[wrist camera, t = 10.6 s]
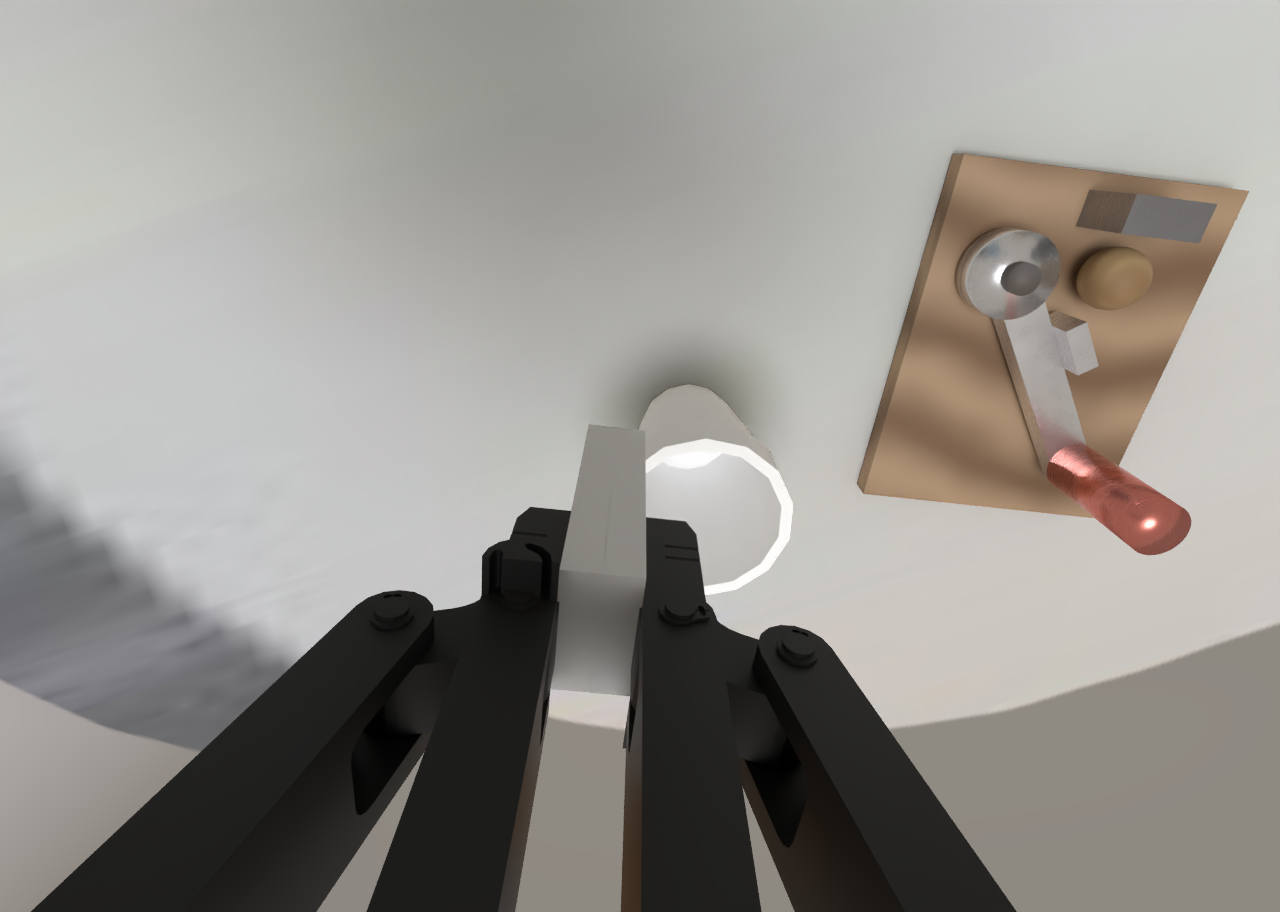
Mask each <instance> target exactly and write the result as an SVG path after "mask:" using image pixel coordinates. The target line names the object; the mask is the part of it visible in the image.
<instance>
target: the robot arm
mask: <svg viewBox="0 0 1280 912" xmlns="http://www.w3.org/2000/svg"><path fill="white" fill-rule="evenodd" d="M550 688H551V689H557V690H568V691H579V692H590V693H601V694H612V695H623V696H629V695H630V702H629V709H628V716H627V722H626V729H625V736H624V743H623V748H626V769H625V800H624V801H625V802H624V832H623V861H622V893H621V912H761V906H760V900H759V893H758V886H757V880H756V873H755V867H754V860H753V854H752V847H751V841H750V834H749V828H748V821H747V815H746V808H745V802H744V795H743V789H744V791H745V793H746V796H747V798H748V801H749V803H750V805H751V808H752V810H753V813H754V815H755V817H756V820H757V822H758V825H759V827H760V829H761V832H762V834H763V836H764V839H765V841H766V844H767V846H768V848H769V851H770V853H771V856H772V858H773V860H774V863H775V865H776V868H777V870H778V872H779V875H780V877H781V880H782V882H783V884H784V887H785V889H786V892H787V894H788V897H789V899H790V901H791V904H792V906H793V908H794V911H795V912H1016V910H1015V909H1014V907H1013V906H1012V905H1011V903H1010V902H1009V900H1008V899H1007V897H1006V896H1005V894H1004V893H1003V892H1002V890H1001V889H1000V887H999V886H998V885H997V883H996V882H995V881H994V879H993V878H992V876H991V875H990V873H989V872H988V870H987V869H986V867H985V866H984V865H983V863H982V862H981V860H980V859H979V857H978V856H977V855H976V853H975V852H974V850H973V849H972V848H971V846H970V845H969V843H968V842H967V840H966V839H965V838H964V836H963V835H962V833H961V832H960V830H959V829H958V828H957V827H956V825H955V823H954V822H953V820H952V819H951V818H950V816H949V815H948V813H947V812H946V810H945V809H944V808H943V806H942V805H941V804H940V802H939V801H938V799H937V798H936V796H935V795H934V793H933V792H932V790H931V789H930V788H929V786H928V785H927V783H926V782H925V781H924V779H923V778H922V776H921V775H920V773H919V772H918V771H917V769H916V768H915V766H914V765H913V763H912V762H911V761H910V759H909V758H908V756H907V755H906V753H905V752H904V751H903V749H902V748H901V746H900V745H899V743H898V742H897V741H896V739H895V738H894V736H893V735H892V733H891V732H890V731H889V729H888V728H887V726H886V725H885V724H884V722H883V721H882V719H881V718H880V716H879V715H878V714H877V712H876V711H875V709H874V708H873V706H872V705H871V704H870V702H869V701H868V699H867V698H866V696H865V695H864V694H863V692H862V691H861V689H860V688H859V686H858V685H857V684H856V682H855V681H854V679H853V678H852V677H851V675H850V674H849V672H848V671H847V669H846V668H845V667H844V665H843V664H842V662H841V661H840V659H839V658H838V657H837V655H836V654H835V652H834V651H833V649H832V648H831V647H830V646H829V645H828V644H827V643H826V642H825V641H824V640H823V639H822V638H821V637H819V636H817V635H816V634H814V633H812V632H810V631H809V630H805V629H802V628H799V627H796V626H786V625H779V626H775V627H770V628H768V629H767V630H765V631H764V632H763V633H762V634H761V635H760V638H759V640H758V639H755V638H752V637H749V636H745V635H742V634H740V633H737V632H735V631H732V630H730V629H728V628H727V627H725V626H723V625H722V624H720V623H719V622H718V621H717V619H716V616H715V613H714V611H713V609H712V607H711V606H710V605H708V604H707V603H706V599H705V592H704V584H703V577H702V570H701V563H700V556H699V551H698V542H697V535H696V533H695V532H694V531H693V530H692V528H691V527H690V526H689V525H688V523H687V522H686V521H678V520H668V519H659V518H649V517H646V455H645V431H643V430H634V429H625V428H616V427H606V426H597V425H589V427H588V431H587V436H586V441H585V446H584V451H583V456H582V461H581V466H580V471H579V476H578V481H577V486H576V491H575V496H574V500H573V505H572V510H571V511H565V510H555V509H545V508H535V507H530V508H529V509H527V510H526V511H525V512H524V513H523V514H521V515H520V516H519V517H518V518H517V520H516V523H515V526H514V528H513V532H512V534H511V537H510V540H506V541H502V542H499V543H497V544H495V545H493V546H491V547H489V548H488V549H487V551H486V552H485V553H484V554H483V556H482V596H481V598H480V600H478V601H476V602H475V603H472V604H469V605H466V606H463V607H458V608H453V609H445V610H437V611H433V605H432V604H431V602H430V601H429V600H428V599H427V598H426V597H424V596H422V595H420V594H417V593H415V592H409V591H401V590H398V591H389V592H383V593H380V594H377V595H374V596H371V597H368V598H367V599H365V600H364V601H363V602H361V603H360V604H358V605H357V606H356V607H355V608H353V609H352V610H351V611H350V612H349V613H348V614H347V615H346V616H345V617H344V618H343V619H342V620H341V621H340V622H339V623H337V624H336V625H335V626H334V627H333V628H332V629H331V630H330V631H329V632H328V633H327V634H326V635H325V636H324V637H323V638H322V639H320V640H319V641H318V642H317V643H316V644H315V645H314V646H313V647H312V648H311V649H310V650H309V651H308V652H307V653H306V654H305V655H303V656H302V657H301V658H300V659H299V660H298V661H297V662H296V663H295V664H294V665H293V666H292V667H291V668H290V669H289V670H287V671H286V672H285V673H284V674H283V675H282V676H281V677H280V678H279V679H278V680H277V681H276V682H275V683H274V684H273V685H272V686H270V687H269V688H268V689H267V690H266V691H265V692H264V693H263V694H262V695H261V696H260V697H259V698H258V699H257V700H256V701H255V702H253V703H252V704H251V705H250V706H249V707H248V708H247V709H246V710H245V711H244V712H243V713H242V714H241V715H240V716H239V717H237V718H236V719H235V720H234V721H233V722H232V723H231V724H230V725H229V726H228V727H227V728H226V729H225V730H224V731H223V732H222V733H220V734H219V735H218V736H217V737H216V738H215V739H214V740H213V741H212V742H211V743H210V744H209V745H208V746H207V747H206V748H205V749H203V750H202V751H201V752H200V753H199V754H198V755H197V756H196V757H195V758H194V759H193V760H192V761H191V762H190V763H189V764H188V765H186V766H185V767H184V768H183V769H182V770H181V771H180V772H179V773H178V774H177V775H176V776H175V777H174V778H173V779H172V780H170V781H169V782H168V783H167V784H166V785H165V786H164V787H163V788H162V789H161V790H160V791H159V792H158V793H157V794H156V795H155V796H153V797H152V798H151V799H150V800H149V801H148V802H147V803H146V804H145V805H144V806H143V807H142V808H141V809H140V810H139V811H137V812H136V814H134V815H133V816H132V817H131V818H130V819H129V820H128V821H127V822H126V823H125V824H124V825H123V826H122V827H120V828H119V829H118V830H117V831H116V832H115V833H114V834H113V835H112V836H111V837H110V838H109V839H108V840H107V841H106V842H105V843H103V844H102V845H101V846H100V847H99V848H98V849H97V850H96V851H95V852H94V853H93V854H92V855H91V856H90V857H89V858H87V859H86V860H85V862H83V863H82V864H81V865H80V866H79V867H78V868H77V869H76V870H75V871H74V872H73V873H72V874H70V875H69V876H68V877H67V878H66V879H65V880H64V881H63V882H62V883H61V884H60V885H59V886H58V887H57V888H56V889H55V890H54V891H52V892H51V893H50V894H49V895H48V896H47V897H46V898H45V899H44V900H43V901H42V902H41V903H40V904H39V905H37V906H36V907H35V908H34V909H33V910H32V911H31V912H316V911H317V910H318V908H319V907H320V905H321V904H322V902H323V901H324V900H325V898H326V897H327V895H328V893H329V892H330V891H331V889H332V888H333V886H334V885H335V883H336V882H337V880H338V879H339V877H340V876H341V874H342V873H343V871H344V870H345V868H346V867H347V865H348V864H349V862H350V861H351V860H352V858H353V857H354V855H355V854H356V852H357V851H358V849H359V848H360V846H361V845H362V843H363V842H364V840H365V839H366V837H367V836H368V834H369V833H370V831H371V830H372V828H373V827H374V825H375V824H376V823H377V821H378V819H379V818H380V816H381V815H382V814H383V812H384V811H385V809H386V808H387V806H388V805H389V803H390V802H391V800H392V799H393V797H394V796H395V794H396V793H397V791H398V790H399V788H400V787H401V786H402V784H403V783H404V781H405V780H406V778H407V777H408V775H409V774H410V772H411V771H412V769H413V768H414V766H415V765H416V763H417V762H418V760H419V759H420V757H421V756H422V754H423V753H424V755H423V758H422V761H421V764H420V766H419V769H418V772H417V775H416V777H415V780H414V783H413V786H412V789H411V791H410V794H409V797H408V799H407V802H406V805H405V808H404V810H403V813H402V816H401V819H400V821H399V824H398V827H397V830H396V832H395V836H394V838H393V841H392V843H391V846H390V849H389V852H388V854H387V857H386V860H385V863H384V865H383V868H382V871H381V874H380V876H379V879H378V882H377V885H376V887H375V890H374V893H373V896H372V898H371V901H370V904H369V907H368V909H367V912H515V909H516V903H517V897H518V891H519V885H520V878H521V873H522V867H523V861H524V855H525V849H526V843H527V837H528V831H529V825H530V819H531V813H532V807H533V801H534V795H535V789H536V783H537V777H538V771H539V765H540V759H541V753H542V747H543V740H544V735H545V728H546V723H547V717H548V711H549V698H550ZM424 751H425V752H424ZM742 786H743V789H742Z"/></svg>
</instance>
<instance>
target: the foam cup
mask: <svg viewBox="0 0 1280 912" xmlns="http://www.w3.org/2000/svg"><path fill="white" fill-rule="evenodd" d="M638 430H643V431H645V455H646V517H649V518H659V519H668V520H678V521H686V522H687V523H688V525H689V526H690V527H691V528H692V530H693V531H694V532H695V533H696V535H697V542H698V551H699V556H700V563H701V570H702V577H703V584H704V592H705V595H710V594H715V593H720V592H726V591H731V590H737V589H738V588H740V587H742V586H743V585H745V584H747V583H748V582H750V581H751V580H753V579H755V578H756V577H758V576H759V575H761V574H763V573H764V572H766V571H767V570H769V569H770V567H771V566H772V564H773V563H774V561H775V560H776V558H777V557H778V555H779V554H780V553H781V551H782V550H783V548H784V547H785V545H786V544H787V542H788V541H789V538H790V529H791V520H792V511H793V503H792V500H791V498H790V496H789V493H788V491H787V489H786V486H785V484H784V482H783V479H782V477H781V475H780V473H779V470H778V468H777V466H776V464H775V461H774V459H773V457H772V454H771V452H770V451H769V450H767V449H766V448H765V447H764V446H762V445H761V444H760V443H758V442H757V441H756V439H755V438H754V437H753V436H752V434H751V433H750V432H749V431H748V429H747V428H746V427H745V426H744V424H743V423H742V422H741V421H740V420H739V418H738V417H737V416H736V415H735V413H734V412H733V411H732V410H731V408H730V407H729V406H728V405H727V403H726V402H724V400H723V399H721V398H720V397H719V396H717V395H716V394H715V393H714V392H712V391H711V390H710V389H708V388H704V387H700V386H695V385H690V384H686V385H682V386H677V387H672V388H668V389H667V390H665V391H664V392H663V393H661V394H660V395H659V396H657V397H656V398H655V399H653V400H652V401H651V403H650V405H649V407H648V409H647V411H646V413H645V415H644V417H643V419H642V421H641V424H640V427H639V429H638Z"/></svg>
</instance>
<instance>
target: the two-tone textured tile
mask: <svg viewBox="0 0 1280 912" xmlns="http://www.w3.org/2000/svg"><path fill="white" fill-rule="evenodd" d="M1216 206H1217V204H1213V203H1206V202H1198V201H1190V200H1182V199H1174V198H1167V197H1159V196H1151V195H1143V194H1134V193H1121V192H1108V191H1095V190H1089V192H1088V195H1087V197H1086V200H1085V203H1084V205H1083V208H1082V211H1081V213H1080V216H1079V219H1078V221H1077V224H1076V226H1077V227H1083V228H1089V229H1095V230H1101V231H1107V232H1114V233H1120V234H1127V235H1135V236H1143V237H1151V238H1159V239H1167V240H1175V241H1183V242H1191V243H1200V241H1201V239H1202V237H1203V235H1204V232H1205V230H1206V228H1207V226H1208V224H1209V222H1210V219H1211V217H1212V215H1213V213H1214V211H1215V209H1216Z"/></svg>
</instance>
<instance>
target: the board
mask: <svg viewBox="0 0 1280 912" xmlns="http://www.w3.org/2000/svg"><path fill="white" fill-rule="evenodd" d="M1089 190H1095V191H1108V192H1121V193H1134V194H1143V195H1151V196H1159V197H1167V198H1174V199H1182V200H1190V201H1198V202H1206V203H1213V204H1217V206H1216V209H1215V211H1214V213H1213V215H1212V217H1211V219H1210V222H1209V224H1208V226H1207V228H1206V230H1205V232H1204V235H1203V237H1202V239H1201V241H1200V243H1191V242H1183V241H1175V240H1167V239H1159V238H1151V237H1143V236H1135V235H1127V234H1120V233H1114V232H1107V231H1101V230H1095V229H1089V228H1083V227H1077V226H1076V224H1077V221H1078V219H1079V216H1080V213H1081V211H1082V208H1083V205H1084V203H1085V200H1086V197H1087V195H1088V192H1089ZM1248 193H1249V191H1244V190H1236V189H1229V188H1221V187H1213V186H1206V185H1198V184H1190V183H1182V182H1175V181H1167V180H1159V179H1152V178H1144V177H1136V176H1129V175H1121V174H1113V173H1106V172H1098V171H1090V170H1083V169H1075V168H1067V167H1059V166H1052V165H1044V164H1036V163H1029V162H1021V161H1013V160H1006V159H998V158H990V157H983V156H975V155H967V154H953V155H952V158H951V162H950V165H949V168H948V172H947V175H946V179H945V182H944V186H943V189H942V193H941V196H940V199H939V203H938V206H937V210H936V213H935V217H934V220H933V224H932V227H931V231H930V234H929V237H928V241H927V244H926V248H925V251H924V255H923V258H922V262H921V265H920V268H919V272H918V275H917V279H916V282H915V286H914V289H913V293H912V296H911V300H910V303H909V306H908V310H907V313H906V317H905V320H904V324H903V327H902V331H901V334H900V337H899V341H898V344H897V348H896V351H895V355H894V358H893V362H892V365H891V368H890V372H889V375H888V379H887V382H886V386H885V389H884V393H883V396H882V400H881V403H880V406H879V410H878V413H877V417H876V420H875V424H874V427H873V431H872V434H871V437H870V441H869V444H868V448H867V451H866V455H865V458H864V462H863V465H862V469H861V472H860V475H859V479H858V482H857V485H858V486H859V488H860V489H861V491H862V492H863V494H871V495H880V496H890V497H899V498H909V499H918V500H928V501H937V502H947V503H956V504H966V505H975V506H985V507H994V508H1004V509H1013V510H1023V511H1032V512H1042V513H1051V514H1061V515H1070V516H1079V517H1089V518H1094V517H1093V516H1092V515H1090V514H1089V513H1088V512H1087V511H1085V510H1084V509H1083V508H1082V507H1080V506H1079V505H1078V504H1077V503H1075V502H1074V501H1073V500H1072V499H1070V498H1069V497H1068V496H1067V495H1065V494H1064V493H1063V492H1062V491H1060V490H1059V489H1058V488H1057V487H1055V486H1054V485H1053V484H1052V483H1051V482H1050V481H1049V480H1048V478H1046V477H1045V476H1044V475H1043V472H1042V469H1041V466H1040V463H1039V460H1038V457H1037V454H1036V450H1035V447H1034V444H1033V441H1032V438H1031V435H1030V432H1029V429H1028V426H1027V423H1026V420H1025V417H1024V414H1023V411H1022V408H1021V405H1020V401H1019V398H1018V395H1017V392H1016V389H1015V386H1014V383H1013V380H1012V377H1011V374H1010V371H1009V368H1008V365H1007V362H1006V359H1005V356H1004V353H1003V349H1002V346H1001V343H1000V340H999V337H998V334H997V331H996V328H995V325H994V322H993V319H992V317H989V316H987V315H985V314H983V313H981V312H978V311H976V310H974V309H972V308H971V307H969V306H968V305H967V304H965V302H964V301H963V300H962V299H961V297H960V295H959V293H958V290H957V285H956V274H957V269H958V265H959V263H960V260H961V258H962V257H963V255H964V253H965V252H966V250H967V249H968V248H969V247H970V245H971V244H972V243H973V242H975V241H976V240H977V239H978V238H980V237H981V236H983V235H984V234H986V233H988V232H990V231H993V230H996V229H1000V228H1017V229H1022V230H1027V231H1032V232H1036V233H1040V234H1042V235H1044V236H1046V237H1047V238H1049V239H1050V240H1051V241H1052V242H1053V243H1054V245H1055V246H1056V248H1057V250H1058V253H1059V256H1060V262H1061V268H1060V275H1059V279H1058V282H1057V284H1056V286H1055V288H1054V290H1053V292H1052V293H1051V295H1050V296H1049V297H1048V299H1047V300H1046V301H1045V304H1046V307H1047V311H1048V314H1051V313H1053V312H1055V311H1059V312H1062V313H1064V314H1067V315H1070V316H1072V317H1075V318H1078V319H1080V320H1083V321H1086V322H1087V324H1088V328H1089V331H1090V335H1091V339H1092V343H1093V346H1094V350H1095V354H1096V358H1097V361H1098V365H1099V366H1098V367H1096V368H1093V369H1091V370H1089V371H1087V372H1085V373H1082V374H1080V375H1076V374H1074V373H1072V372H1070V371H1068V370H1066V369H1065V373H1066V376H1067V380H1068V383H1069V387H1070V390H1071V394H1072V397H1073V401H1074V404H1075V407H1076V411H1077V414H1078V418H1079V421H1080V425H1081V428H1082V432H1083V435H1084V439H1085V442H1086V445H1087V446H1088V447H1090V448H1092V449H1093V450H1095V451H1096V452H1098V453H1099V454H1101V455H1103V456H1104V457H1106V458H1107V459H1109V460H1110V461H1112V462H1113V463H1115V464H1116V465H1118V466H1119V464H1120V462H1121V459H1122V457H1123V455H1124V453H1125V451H1126V449H1127V447H1128V445H1129V443H1130V441H1131V438H1132V436H1133V434H1134V432H1135V430H1136V428H1137V426H1138V424H1139V422H1140V420H1141V417H1142V415H1143V413H1144V411H1145V409H1146V407H1147V405H1148V403H1149V401H1150V399H1151V396H1152V394H1153V392H1154V390H1155V388H1156V386H1157V384H1158V382H1159V380H1160V378H1161V375H1162V373H1163V371H1164V369H1165V367H1166V365H1167V363H1168V361H1169V359H1170V357H1171V355H1172V352H1173V350H1174V348H1175V346H1176V344H1177V342H1178V340H1179V338H1180V336H1181V334H1182V331H1183V329H1184V327H1185V325H1186V323H1187V321H1188V319H1189V317H1190V315H1191V313H1192V310H1193V308H1194V306H1195V304H1196V302H1197V300H1198V298H1199V296H1200V294H1201V292H1202V289H1203V287H1204V285H1205V283H1206V281H1207V279H1208V277H1209V275H1210V273H1211V271H1212V268H1213V266H1214V264H1215V262H1216V260H1217V258H1218V256H1219V254H1220V252H1221V250H1222V247H1223V245H1224V243H1225V241H1226V239H1227V237H1228V235H1229V233H1230V231H1231V229H1232V227H1233V224H1234V222H1235V220H1236V218H1237V216H1238V214H1239V212H1240V210H1241V208H1242V206H1243V203H1244V201H1245V199H1246V197H1247V195H1248ZM1119 246H1121V247H1130V248H1133V249H1136V250H1138V251H1140V252H1141V253H1143V254H1144V255H1145V256H1146V257H1147V258H1148V259H1149V261H1150V263H1151V265H1152V270H1153V277H1152V282H1151V285H1150V287H1149V289H1148V290H1147V292H1146V293H1145V294H1144V295H1143V296H1142V297H1141V298H1140V299H1139V300H1138V301H1136V302H1135V303H1133V304H1131V305H1129V306H1127V307H1125V308H1122V309H1117V310H1100V309H1096V308H1094V307H1091V306H1090V305H1088V304H1087V303H1085V302H1084V301H1083V300H1082V299H1081V297H1080V295H1079V293H1078V291H1077V286H1076V281H1077V276H1078V273H1079V271H1080V269H1081V267H1082V266H1083V264H1084V263H1085V262H1086V261H1087V260H1088V259H1089V258H1090V257H1091V256H1093V255H1094V254H1096V253H1098V252H1099V251H1102V250H1104V249H1107V248H1111V247H1119ZM1041 276H1042V275H1041V271H1040V269H1039V267H1038V266H1036V265H1035V264H1031V263H1028V262H1024V261H1019V262H1015V263H1013V264H1011V265H1010V266H1008V267H1007V268H1006V270H1005V271H1004V273H1003V275H1002V279H1001V283H1002V287H1003V288H1004V290H1005V291H1007V292H1009V293H1012V294H1014V295H1017V296H1025V295H1028V294H1030V293H1032V292H1033V291H1034V290H1035V289H1036V288H1037V287H1038V286H1039V284H1040V281H1041Z"/></svg>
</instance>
